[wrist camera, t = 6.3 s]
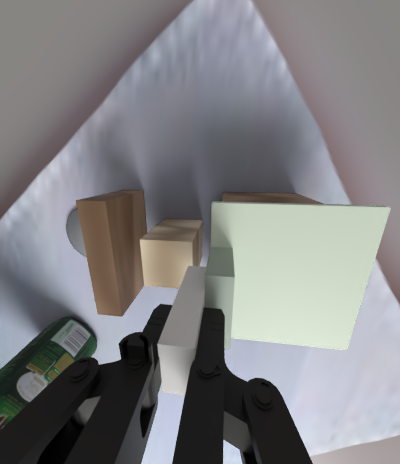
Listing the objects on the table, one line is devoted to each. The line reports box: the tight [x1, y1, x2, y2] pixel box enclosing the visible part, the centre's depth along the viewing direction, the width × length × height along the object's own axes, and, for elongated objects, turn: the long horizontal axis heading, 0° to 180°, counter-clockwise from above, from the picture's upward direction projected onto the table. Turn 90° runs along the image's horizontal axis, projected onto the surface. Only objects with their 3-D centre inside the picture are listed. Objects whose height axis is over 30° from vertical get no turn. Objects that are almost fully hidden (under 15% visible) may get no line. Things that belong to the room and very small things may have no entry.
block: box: [140, 219, 202, 288], centre depth 20 cm, size 4×4×7 cm
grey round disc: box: [66, 209, 87, 257], centre depth 25 cm, size 7×7×1 cm
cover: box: [205, 201, 390, 350], centre depth 13 cm, size 11×12×5 cm
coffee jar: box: [0, 318, 97, 430], centre depth 23 cm, size 10×8×19 cm
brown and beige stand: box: [76, 190, 323, 316], centre depth 20 cm, size 19×11×8 cm, turn 90°
